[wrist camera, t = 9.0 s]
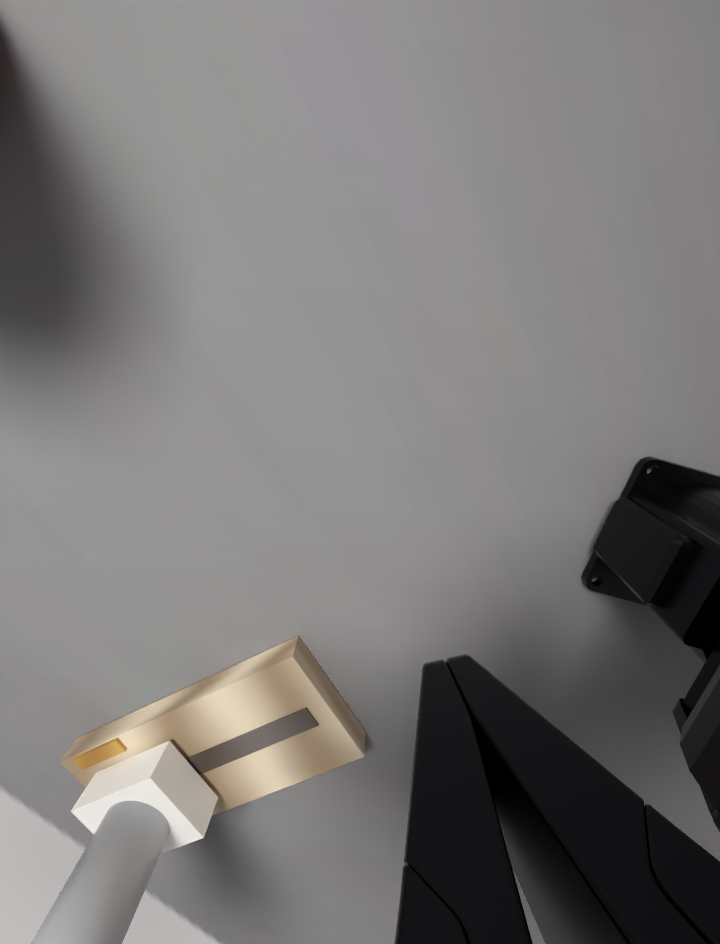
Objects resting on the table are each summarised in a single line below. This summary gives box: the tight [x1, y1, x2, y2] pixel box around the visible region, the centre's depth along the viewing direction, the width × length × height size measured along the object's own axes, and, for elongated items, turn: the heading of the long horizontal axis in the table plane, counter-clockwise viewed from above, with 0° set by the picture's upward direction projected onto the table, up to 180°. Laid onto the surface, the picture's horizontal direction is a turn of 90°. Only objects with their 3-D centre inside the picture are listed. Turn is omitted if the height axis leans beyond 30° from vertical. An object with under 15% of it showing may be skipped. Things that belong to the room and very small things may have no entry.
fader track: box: [60, 636, 366, 816], centre depth 24 cm, size 15×7×2 cm, turn 120°
